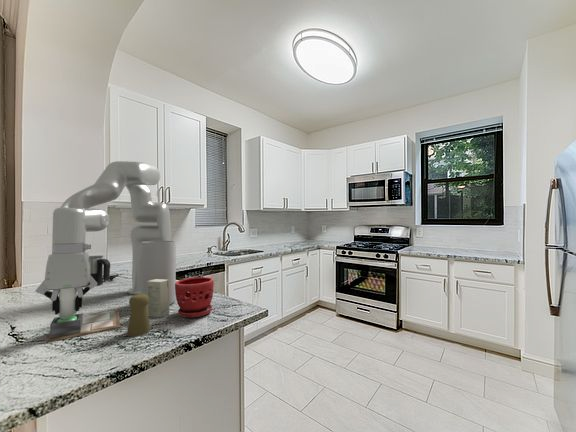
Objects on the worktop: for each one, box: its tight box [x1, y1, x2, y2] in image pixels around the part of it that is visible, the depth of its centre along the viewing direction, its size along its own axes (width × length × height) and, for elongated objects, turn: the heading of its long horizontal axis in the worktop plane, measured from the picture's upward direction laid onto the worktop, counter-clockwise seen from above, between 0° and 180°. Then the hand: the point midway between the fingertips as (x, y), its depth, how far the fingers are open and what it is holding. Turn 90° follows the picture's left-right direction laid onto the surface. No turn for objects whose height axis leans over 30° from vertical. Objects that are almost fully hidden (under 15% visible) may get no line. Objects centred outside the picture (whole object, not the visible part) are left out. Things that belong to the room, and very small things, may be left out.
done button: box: [57, 316, 77, 323], centre depth 76 cm, size 4×4×2 cm
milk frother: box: [85, 255, 119, 287], centre depth 142 cm, size 14×16×15 cm
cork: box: [126, 294, 151, 337], centre depth 78 cm, size 6×6×11 cm
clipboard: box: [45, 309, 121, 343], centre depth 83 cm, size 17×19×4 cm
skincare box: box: [147, 279, 170, 318], centre depth 92 cm, size 6×4×12 cm
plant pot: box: [175, 276, 214, 319], centre depth 93 cm, size 13×13×12 cm
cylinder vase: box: [141, 240, 177, 306], centre depth 105 cm, size 12×12×25 cm
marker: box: [58, 285, 78, 320], centre depth 76 cm, size 4×4×10 cm
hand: (67, 311), depth 76 cm, fingers closed on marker, 4 cm apart
